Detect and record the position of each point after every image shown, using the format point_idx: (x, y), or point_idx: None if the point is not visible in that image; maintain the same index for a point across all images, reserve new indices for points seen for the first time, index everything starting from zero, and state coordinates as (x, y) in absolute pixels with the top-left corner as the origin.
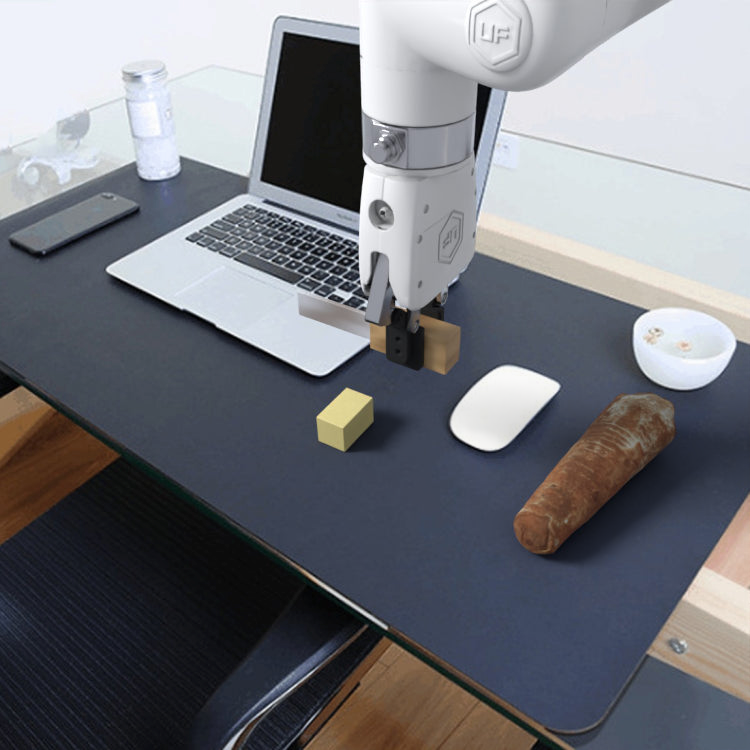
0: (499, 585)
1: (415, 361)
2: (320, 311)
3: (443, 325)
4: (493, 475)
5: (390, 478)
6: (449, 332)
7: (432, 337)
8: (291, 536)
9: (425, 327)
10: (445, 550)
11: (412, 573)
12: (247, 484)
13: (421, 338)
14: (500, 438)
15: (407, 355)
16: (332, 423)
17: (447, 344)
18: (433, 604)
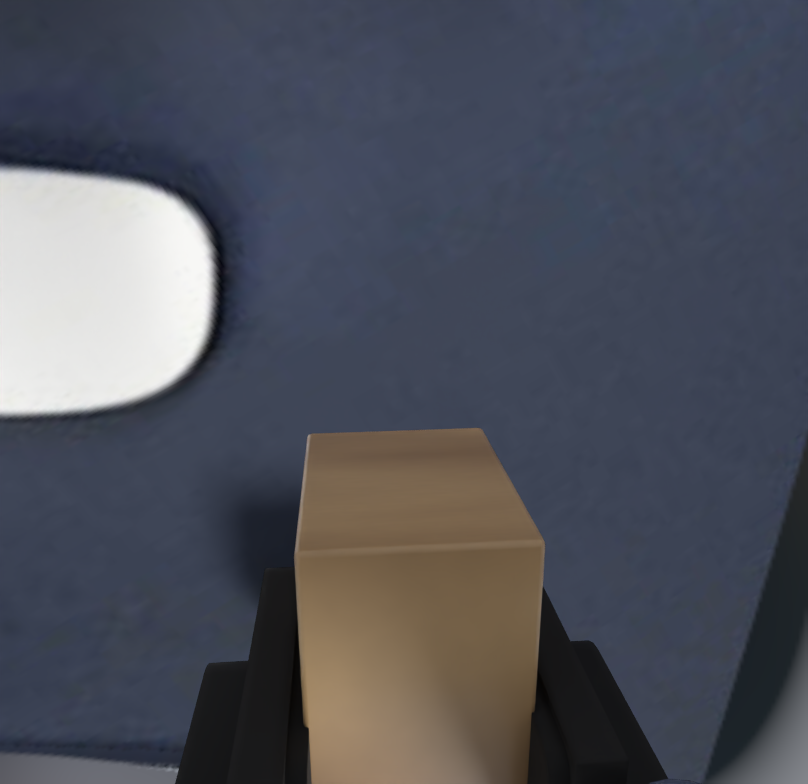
0: None
1: None
2: None
3: (354, 666)
4: (293, 158)
5: (464, 412)
6: (418, 588)
7: (535, 652)
8: (745, 501)
9: (451, 748)
10: (629, 145)
11: (735, 186)
12: (648, 673)
13: (594, 703)
14: (126, 216)
15: (604, 669)
16: None
17: (524, 528)
18: (804, 84)
